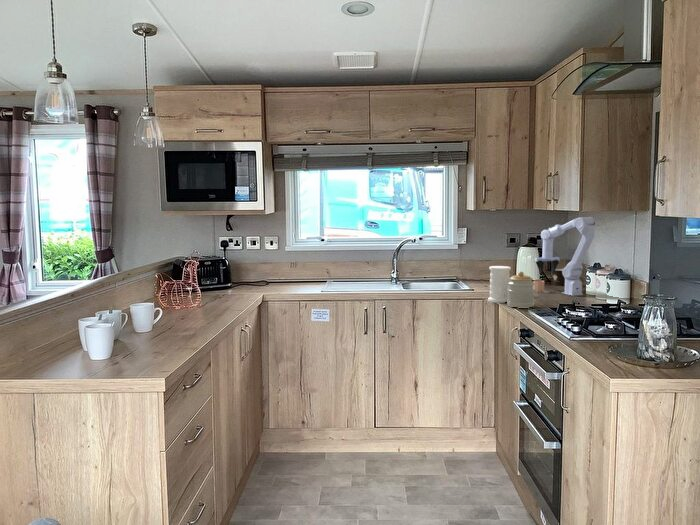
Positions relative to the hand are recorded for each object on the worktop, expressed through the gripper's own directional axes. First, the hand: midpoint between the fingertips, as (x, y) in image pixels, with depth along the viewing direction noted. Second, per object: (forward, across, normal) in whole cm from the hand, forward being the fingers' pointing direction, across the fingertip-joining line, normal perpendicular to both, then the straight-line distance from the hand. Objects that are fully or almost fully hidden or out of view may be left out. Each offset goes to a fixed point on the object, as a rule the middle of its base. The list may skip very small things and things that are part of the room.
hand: (546, 273), depth 320 cm
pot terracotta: (+9, +9, +7) cm, 14 cm away
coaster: (+10, +9, +7) cm, 15 cm away
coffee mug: (+10, -16, -14) cm, 24 cm away
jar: (+10, +39, +43) cm, 58 cm away
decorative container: (+10, +42, +26) cm, 50 cm away
